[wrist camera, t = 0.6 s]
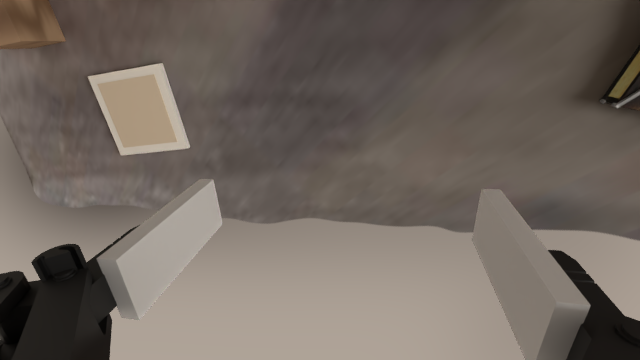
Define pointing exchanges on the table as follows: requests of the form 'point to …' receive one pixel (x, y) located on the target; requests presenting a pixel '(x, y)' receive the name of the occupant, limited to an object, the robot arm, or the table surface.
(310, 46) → the table surface
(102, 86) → the coaster
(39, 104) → the table surface
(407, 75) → the table surface
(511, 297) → the robot arm
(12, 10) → the walnut cube
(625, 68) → the book
